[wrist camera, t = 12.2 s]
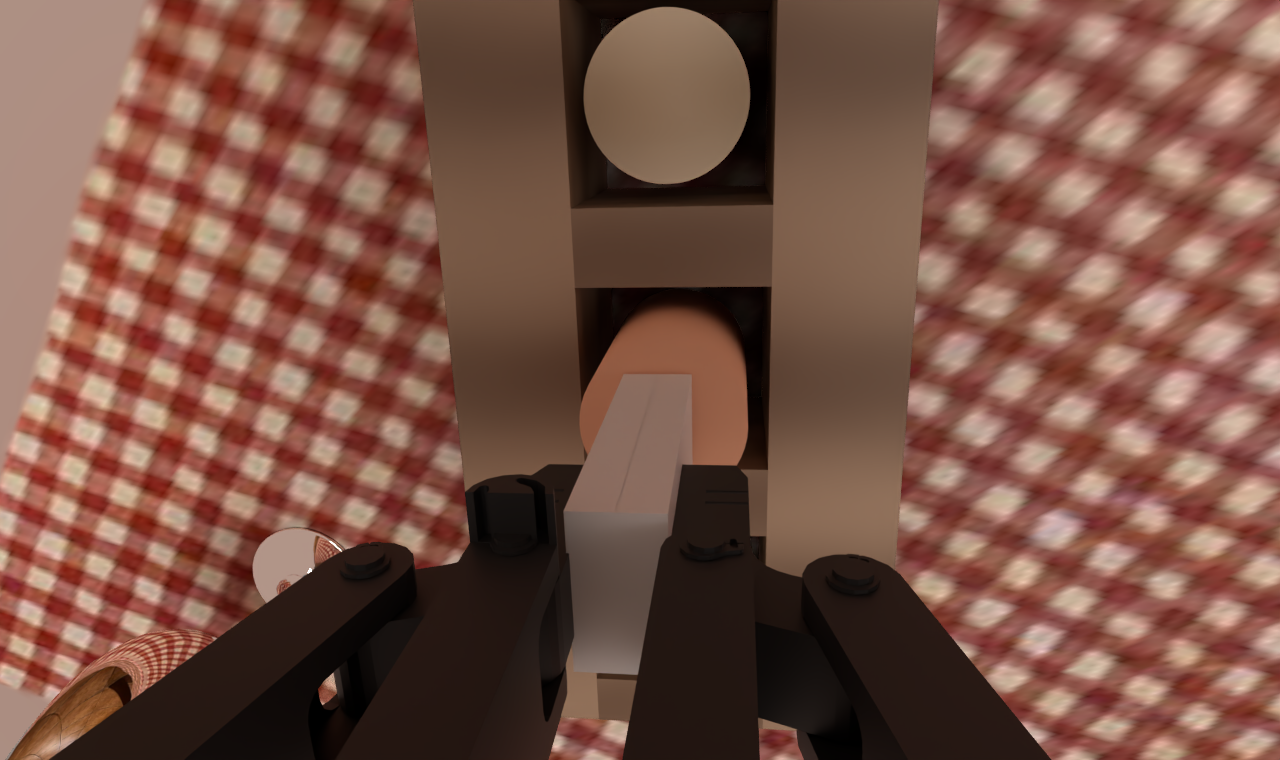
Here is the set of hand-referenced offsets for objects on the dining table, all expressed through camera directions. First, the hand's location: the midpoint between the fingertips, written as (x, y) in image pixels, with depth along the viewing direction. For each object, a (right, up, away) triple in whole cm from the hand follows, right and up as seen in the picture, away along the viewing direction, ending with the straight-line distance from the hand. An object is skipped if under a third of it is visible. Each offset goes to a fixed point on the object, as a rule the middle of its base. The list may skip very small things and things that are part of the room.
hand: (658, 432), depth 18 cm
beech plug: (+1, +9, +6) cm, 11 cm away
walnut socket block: (+1, +3, +9) cm, 10 cm away
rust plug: (+1, +2, +6) cm, 6 cm away
